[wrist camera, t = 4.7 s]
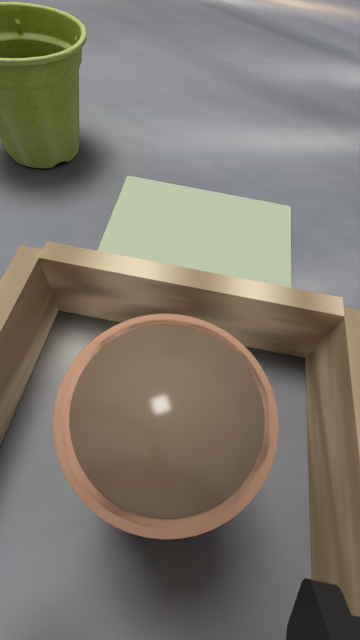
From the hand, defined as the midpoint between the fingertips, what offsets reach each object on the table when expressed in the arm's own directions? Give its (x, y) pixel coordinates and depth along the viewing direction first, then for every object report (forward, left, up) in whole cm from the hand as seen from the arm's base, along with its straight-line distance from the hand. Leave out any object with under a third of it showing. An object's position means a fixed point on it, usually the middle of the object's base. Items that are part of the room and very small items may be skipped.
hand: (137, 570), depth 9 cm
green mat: (0, +21, -9) cm, 22 cm away
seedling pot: (0, +4, -9) cm, 9 cm away
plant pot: (-15, +28, -9) cm, 33 cm away
